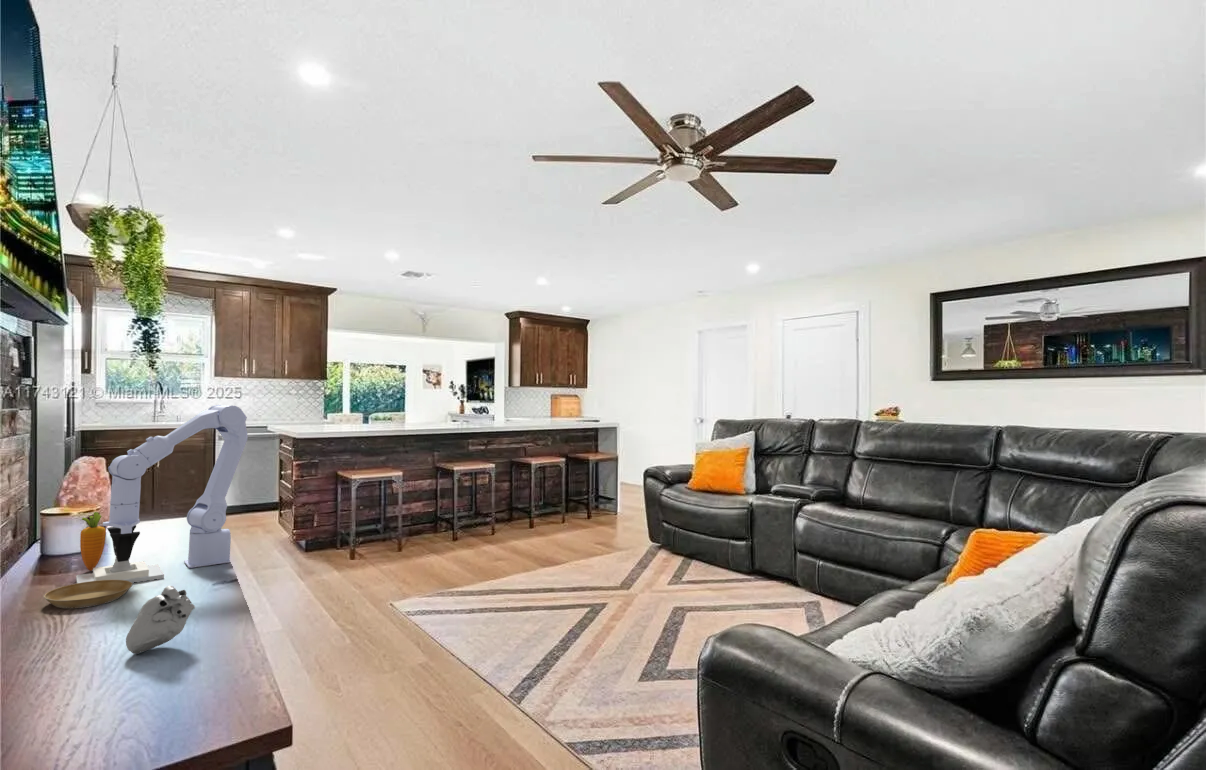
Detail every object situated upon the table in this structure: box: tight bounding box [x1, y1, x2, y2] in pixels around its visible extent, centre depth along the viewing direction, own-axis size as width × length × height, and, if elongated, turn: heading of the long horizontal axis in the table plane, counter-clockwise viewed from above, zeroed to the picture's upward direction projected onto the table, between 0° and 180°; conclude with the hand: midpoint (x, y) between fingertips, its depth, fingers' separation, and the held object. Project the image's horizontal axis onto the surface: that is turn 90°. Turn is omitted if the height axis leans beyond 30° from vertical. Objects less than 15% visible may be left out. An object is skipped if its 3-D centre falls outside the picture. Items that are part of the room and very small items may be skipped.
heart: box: [125, 585, 196, 655], centre depth 104 cm, size 10×10×12 cm
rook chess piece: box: [110, 547, 132, 573], centre depth 143 cm, size 4×4×8 cm
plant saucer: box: [43, 580, 133, 609], centre depth 127 cm, size 15×15×3 cm
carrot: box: [79, 511, 107, 572], centre depth 148 cm, size 5×5×15 cm
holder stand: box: [75, 560, 165, 584], centre depth 142 cm, size 16×12×2 cm
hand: (121, 557), depth 143 cm, fingers open, 7 cm apart
